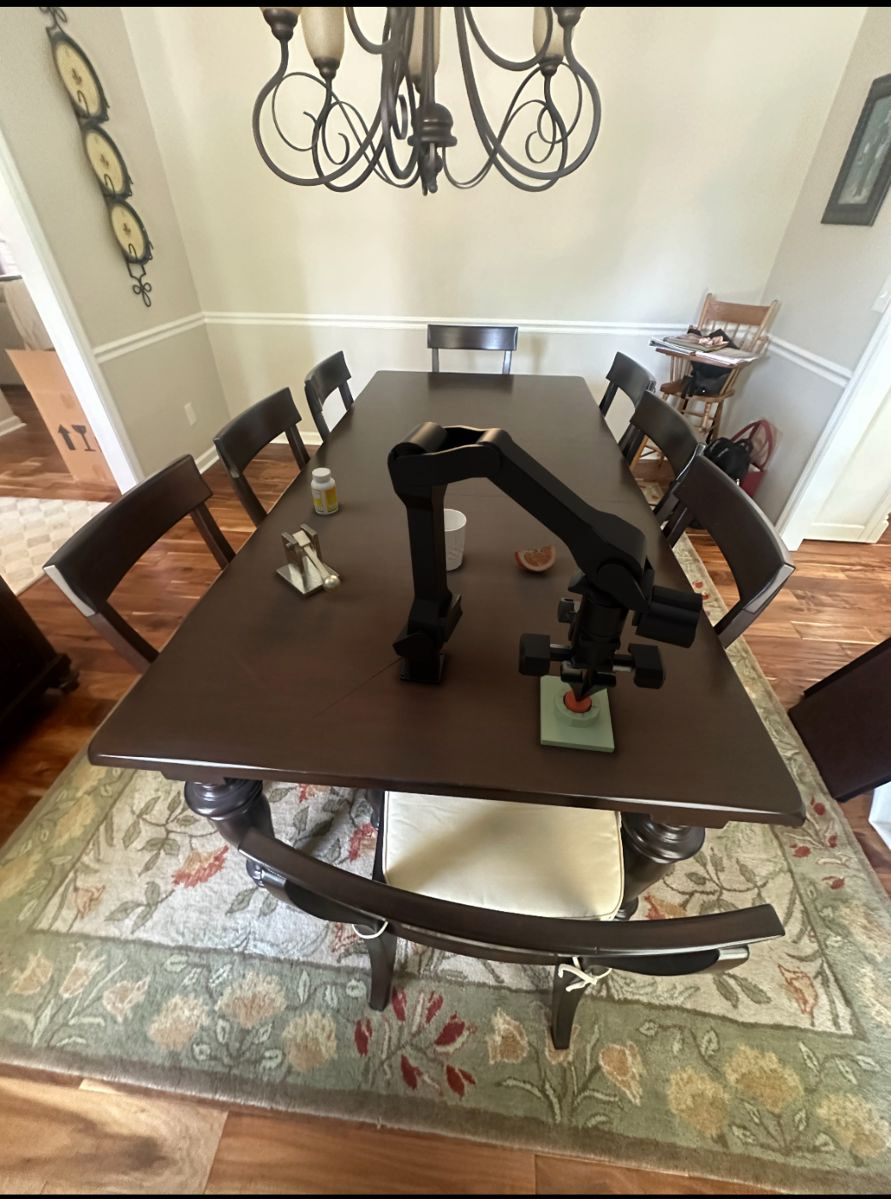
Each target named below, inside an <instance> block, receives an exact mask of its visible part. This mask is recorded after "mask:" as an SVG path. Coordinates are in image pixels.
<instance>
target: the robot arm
mask: <svg viewBox="0 0 891 1199" xmlns="http://www.w3.org/2000/svg"><path fill="white" fill-rule="evenodd" d="M386 465H387V471H388V474H389V478H390V481H391V484H392V489H393V492H394V493H395V494H396V496H397V497H398V498H399V500H400V501H401V503H402V504H403V505H404V506H405V509H406V519H407V520H406V521H407V530H408V540H409V541H408V542H409V550H410V551H409V552H410V558H411V559H410V564H411V571H412V572H411V573H412V582H413V583H412V585H413V592H414V594H413V595H414V596H413V601H412V604H411V606H410V610H409V614H408V617H407V621H406V623H405V624H404V626H403V628H402V629H401V630H400V632H399V634H398V636H397V637H396V639H395V640H394V641H393V643H392V645H391V647H392V648H393V650H394V652H395V654H396V655H397V656H399V657H402V658H403V660H402V664H401V668H400V670H399V675H398V678H399V680H400V681H407V682H415V683H425V684H435V685H438V684H440V682H441V677H442V673H443V672H442V671H443V667H444V660H445V653H444V651H441V650H442V648H443V647H444V646H445V643H448V642H449V640H450V638H451V636H452V635H453V633H454V632H455V629H456V627H457V625H458V623H459V622H460V620H461V618H462V616H463V614H464V612H463V609H462V606H461V605H462V604H461V603H462V598H463V596H462V595H461V594H454V593H453V592H452V591H451V590H450V589H449V587H448V574H447V573H448V571H447V570H446V546H445V522H444V509H445V496H446V492H447V489H448V485H449V484H454V483H457V482H462V481H465V480H469V479H483V478H484V479H485V478H486V479H487V480H488V481H490V482H491V483H492V484H493V485H494V486H496V487H497V488H498V489H499V490H501V491H502V492H503V493H504V494H505V495H507V496H508V497H509V498H510V499H511V500H512V501H514V502H515V503H516V504H518V505H519V506H520V507H521V508H522V509H523V510H525V511H526V512H527V513H528V514H529V515H531V516H532V517H533V518H534V519H535V520H537V521H538V522H539V523H541V525H543V526H544V527H545V528H547V529H548V530H549V531H550V532H551V533H553V534H554V535H555V536H556V537H558V538H559V539H560V540H561V542H563V544H564V545H565V546H566V547H567V548H568V550H569V552H570V554H571V556H572V558H573V560H574V562H575V563H576V566H577V568H579V569H578V570H577V569H576V570H574V571H572V573H571V577H570V579H569V583H568V585H567V591H568V592H569V593H573V594H577V595H581V600H580V601H579V600H578V601H577V600H576V601H574V599H573V598H569V597H560V598H559V602H558V607H557V614H556V616H557V621H558V623H560V624H569V627H568V632H567V641H568V642H570V645H564V644H553V643H551V635H550V634H541V633H531V632H523V634H521V635H520V637H519V644H518V671H517V672H518V673H520V674H521V675H522V676H527V677H528V676H529V677H538V678H541V677H543V676H545V675H547V676H548V675H549V674H550V669H551V662H558V663H559V677H560V679H561V681H562V682H564V683H568V684H569V685H570V687H571V688H572V690H573V693H574V696H575V700H576V701H583V700H584V699H586V698H588V697H589V696H591V695H593V694H595V693H597V692H599V691H601V690H604V689H606V688H607V689H610V688H611V689H612V688H613V689H614V688H616V686H617V676H616V674H617V672H618V673H629V674H632V673H634V676H633V679H632V681H633V684H634V685H635V686H636V687H637V688H642V689H650V690H660V689H661V688H662V687H663V686H664V683H665V681H666V679H667V671H666V665H665V662H664V658H663V654H662V650H661V648H660V647H659V646H658V645H654V644H645V643H633V642H629V643H628V645H627V652H628V654H625V653H617V651H619V650H620V649H621V646H622V642H621V636H622V634H623V630H624V627H625V624H626V620H627V618H628V615H629V613H630V611H633V614H632V619H631V626H632V627H636V629H635V632H634V635H635V636H638V637H641V638H645V639H649V640H652V641H656V642H660V643H664V644H668V645H671V646H676V647H680V648H683V649H690V648H691V647H692V645H693V643H694V641H695V639H696V632H697V627H698V623H699V620H700V616H701V612H702V609H703V607H704V595H703V594H702V593H698V592H695V591H684V590H679V589H675V588H672V587H667V586H662V585H658V584H655V580H656V579H655V578H656V572H657V571H656V568H655V567H654V566H653V564H652V562H651V560H650V558H649V555H648V553H647V552H648V539H647V537H646V535H645V534H644V532H643V531H642V530H641V529H640V528H638V527H637V526H635V525H634V524H632V523H630V522H629V521H628V520H625V519H623V518H622V517H620V516H618V515H617V514H615V513H610V512H606V511H603V510H598V508H595V507H593V506H592V505H590V504H589V503H587V501H585V500H584V499H583V498H582V497H580V496H579V495H578V494H576V493H575V492H574V491H573V490H572V489H571V488H570V487H568V486H567V485H566V484H565V483H564V482H563V481H561V480H560V479H559V478H558V477H557V476H555V475H554V474H553V472H551V471H550V470H548V469H547V468H546V467H545V466H544V465H542V464H541V463H540V462H539V461H538V460H536V459H535V458H534V457H533V456H532V455H531V454H530V453H528V452H527V451H526V450H525V449H523V448H522V447H521V446H520V445H518V443H516V442H515V441H514V440H513V438H512V435H510V434H509V433H508V431H507V430H504V429H503V428H497V427H495V428H494V427H493V428H477V427H474V426H473V427H472V426H467V425H461V424H459V425H446V426H441V425H440V424H439V423H435V422H432V421H424V422H422V423H418V424H417V425H416V426H415V427H413V428H412V429H411V430H410V431H409V432H408V433H407V434H406V435H405V436H403V438H402V439H400V441H399V442H397V443H396V444H395V445H394V446H393V447H392V448H391V449H390V451H389V452H388V454H387V460H386ZM583 670H586V671H585V673H584V674H583Z"/></svg>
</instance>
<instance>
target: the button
mask: <svg viewBox="0 0 891 1199" xmlns="http://www.w3.org/2000/svg"><path fill="white" fill-rule="evenodd" d="M590 704H591V698H590V696H589V697H588V698H586V699H584V700H583V701H576V700H575V696H574V693H573V690H570V691H569V692H568V693H567V694H566V697H565V701H564V705H565V706H566V707H567V709H569V710H571V711H572V712H574V713H582V714H583V713H586V712H588V710H589V707H590Z"/></svg>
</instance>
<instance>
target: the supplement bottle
mask: <svg viewBox="0 0 891 1199" xmlns="http://www.w3.org/2000/svg"><path fill="white" fill-rule="evenodd" d="M311 473H312V480H311V482H310V488H311V493H312V499H313V505H314V510H315V512H316V513H317V514H320V515H324V516H325V515H326V516H327V515H331V514H334V513H336V512H337V511H338V510H339V502H338V501H339V500H338V493H337V487H336V482H335V480H334V478H333V477H332V473H331V469H329V468H328V467H319V468H315V469H313V470H312V472H311Z"/></svg>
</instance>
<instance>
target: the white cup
mask: <svg viewBox="0 0 891 1199" xmlns="http://www.w3.org/2000/svg"><path fill="white" fill-rule="evenodd" d="M466 517H467V516H466V515H465V514H464V513H463V512H461V511H459V510H456V509H452V508H444V522H445V546H446V570H447V572H448V571H452V570H453V571H454V570H456V569H458V568H459V567H460V566H461V565H462V562H463V556H464V550H465V541H466V532H467V531H466V530H467V518H466Z"/></svg>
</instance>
